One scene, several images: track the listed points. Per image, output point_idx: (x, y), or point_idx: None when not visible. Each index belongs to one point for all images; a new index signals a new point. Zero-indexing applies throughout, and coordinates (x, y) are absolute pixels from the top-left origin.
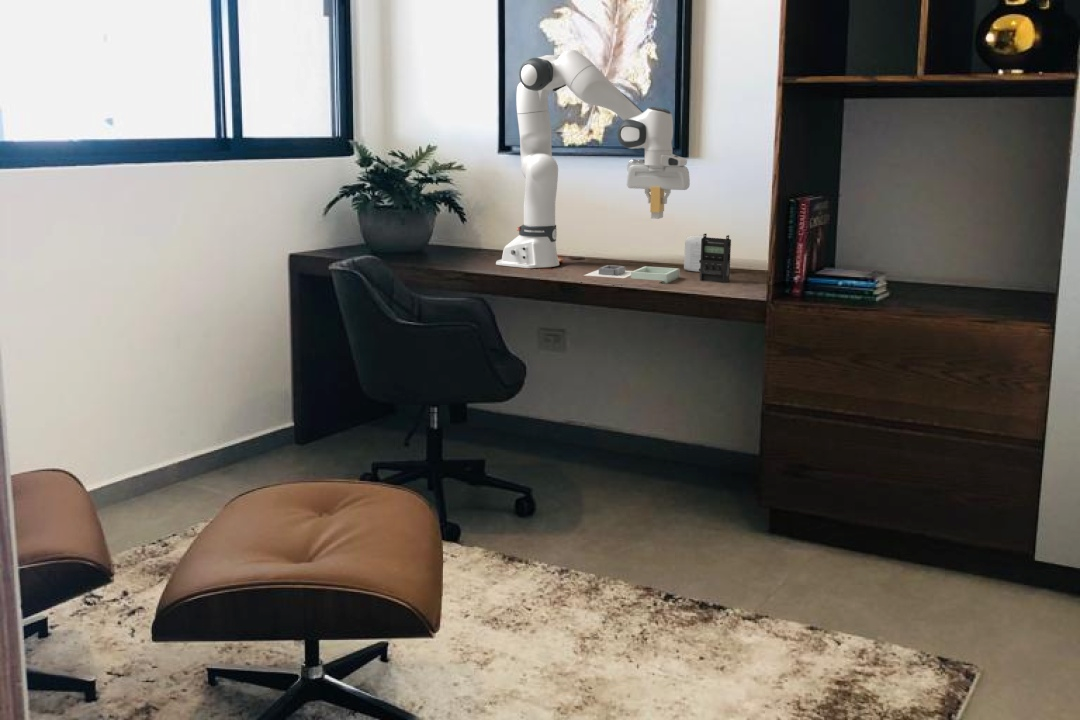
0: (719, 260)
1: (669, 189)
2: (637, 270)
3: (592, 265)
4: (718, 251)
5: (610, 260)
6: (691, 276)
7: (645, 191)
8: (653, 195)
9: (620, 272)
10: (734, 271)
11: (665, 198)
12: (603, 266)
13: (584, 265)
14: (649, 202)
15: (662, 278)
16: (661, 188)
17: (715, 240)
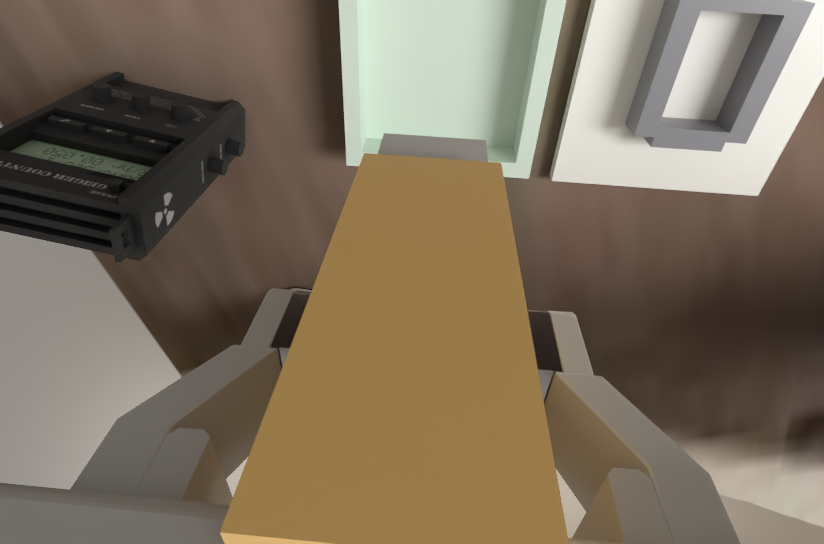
0: (83, 122)
1: (11, 484)
2: (548, 3)
3: (773, 327)
4: (64, 153)
5: (688, 425)
6: (319, 197)
7: (697, 494)
8: (459, 333)
9: (653, 47)
10: (231, 340)
11: (241, 344)
12: (771, 91)
13: (811, 320)
14: (546, 311)
15: None
16: (220, 518)
17: (35, 181)
